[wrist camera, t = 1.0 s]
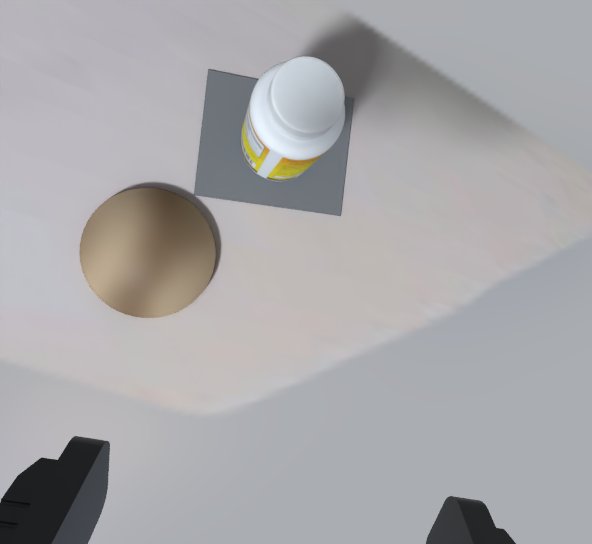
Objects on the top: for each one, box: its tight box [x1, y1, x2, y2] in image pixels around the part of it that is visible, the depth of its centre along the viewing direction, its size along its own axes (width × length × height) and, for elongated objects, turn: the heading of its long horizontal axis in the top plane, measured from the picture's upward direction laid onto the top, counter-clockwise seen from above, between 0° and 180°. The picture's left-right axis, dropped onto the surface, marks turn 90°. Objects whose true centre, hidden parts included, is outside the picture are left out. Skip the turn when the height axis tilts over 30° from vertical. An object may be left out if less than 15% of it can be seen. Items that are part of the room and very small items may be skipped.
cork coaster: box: [80, 188, 216, 318], centre depth 31 cm, size 9×9×1 cm
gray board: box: [194, 70, 354, 216], centre depth 33 cm, size 11×9×1 cm
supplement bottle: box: [240, 56, 345, 181], centre depth 28 cm, size 6×6×10 cm
